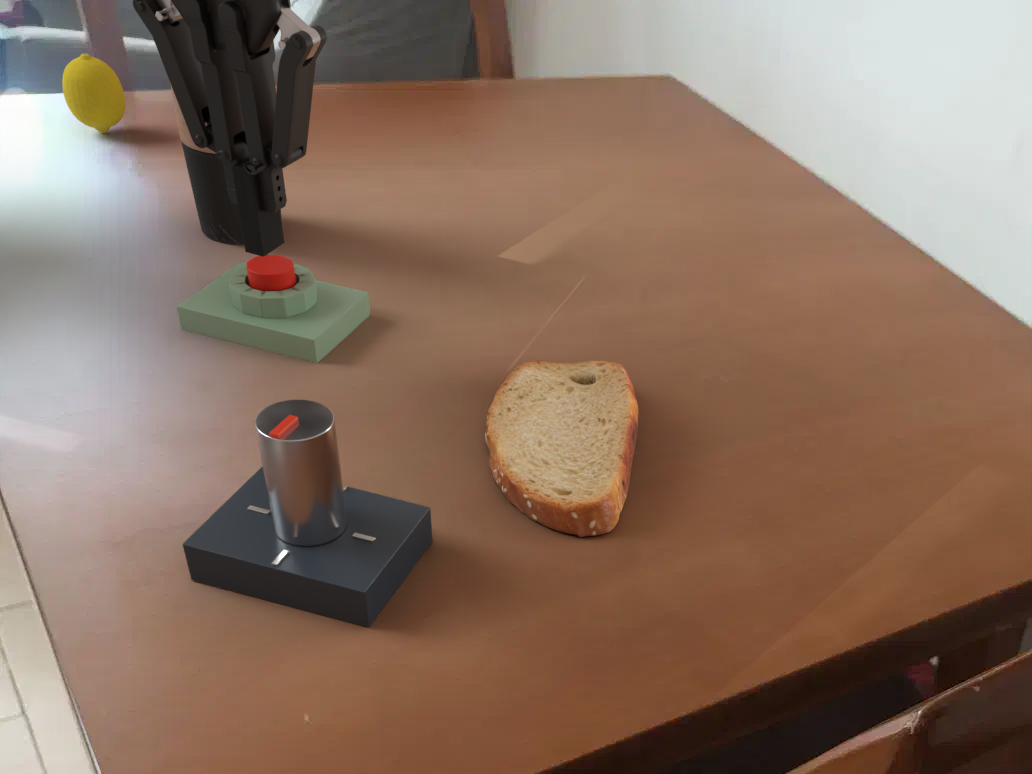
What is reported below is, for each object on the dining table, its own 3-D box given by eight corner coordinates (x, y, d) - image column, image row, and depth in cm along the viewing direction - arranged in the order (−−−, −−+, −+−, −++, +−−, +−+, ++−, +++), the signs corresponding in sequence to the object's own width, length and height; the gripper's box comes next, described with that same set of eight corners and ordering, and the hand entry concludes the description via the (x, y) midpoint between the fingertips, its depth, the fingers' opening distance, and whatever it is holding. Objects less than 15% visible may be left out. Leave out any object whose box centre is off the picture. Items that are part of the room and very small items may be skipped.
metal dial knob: (298, 496, 73) (281, 388, 68) (360, 513, 73) (347, 405, 68) (259, 535, 70) (238, 425, 65) (324, 553, 69) (308, 443, 64)
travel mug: (225, 205, 110) (186, -17, 97) (300, 220, 109) (270, 0, 96) (181, 236, 104) (134, 5, 91) (260, 252, 103) (223, 22, 91)
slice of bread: (580, 552, 77) (582, 510, 75) (405, 441, 84) (402, 399, 82) (736, 451, 89) (742, 411, 87) (572, 361, 96) (573, 322, 94)
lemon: (61, 133, 117) (40, 53, 112) (104, 119, 121) (86, 41, 116) (102, 147, 116) (83, 67, 111) (144, 132, 120) (127, 54, 115)
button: (240, 288, 91) (236, 268, 90) (264, 270, 94) (261, 250, 93) (281, 297, 91) (278, 278, 90) (304, 279, 94) (302, 260, 93)
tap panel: (191, 580, 70) (181, 541, 68) (270, 499, 77) (263, 462, 75) (369, 628, 69) (364, 590, 67) (433, 541, 76) (430, 505, 74)
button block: (181, 330, 92) (171, 285, 89) (243, 284, 99) (236, 241, 96) (317, 363, 91) (311, 319, 88) (370, 315, 98) (366, 272, 95)
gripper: (73, -122, 67) (155, 246, 82) (269, -78, 66) (316, 288, 81) (156, -138, 73) (218, 209, 88) (338, -98, 71) (370, 248, 86)
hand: (265, 247), depth 84 cm, fingers closed
